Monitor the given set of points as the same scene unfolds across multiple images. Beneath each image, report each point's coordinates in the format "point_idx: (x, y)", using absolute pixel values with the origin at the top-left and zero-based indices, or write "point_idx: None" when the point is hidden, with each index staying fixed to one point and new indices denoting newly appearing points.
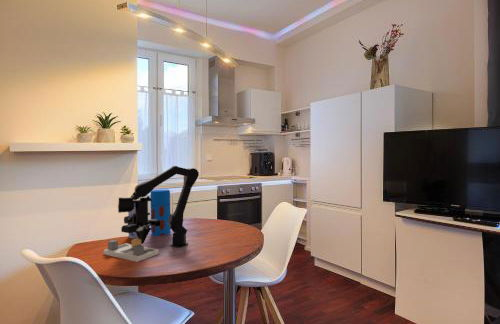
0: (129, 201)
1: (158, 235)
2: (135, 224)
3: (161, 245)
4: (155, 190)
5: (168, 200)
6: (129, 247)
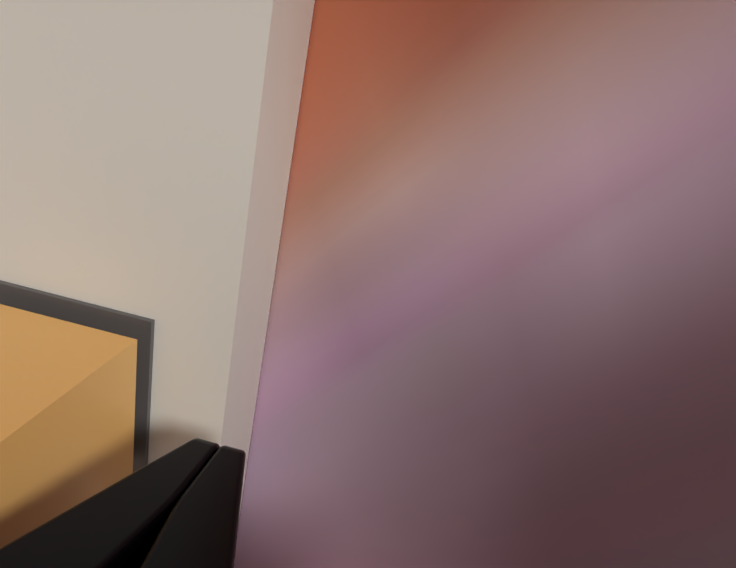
0: None
1: None
2: None
3: (701, 558)
4: None
5: None
6: (6, 181)
